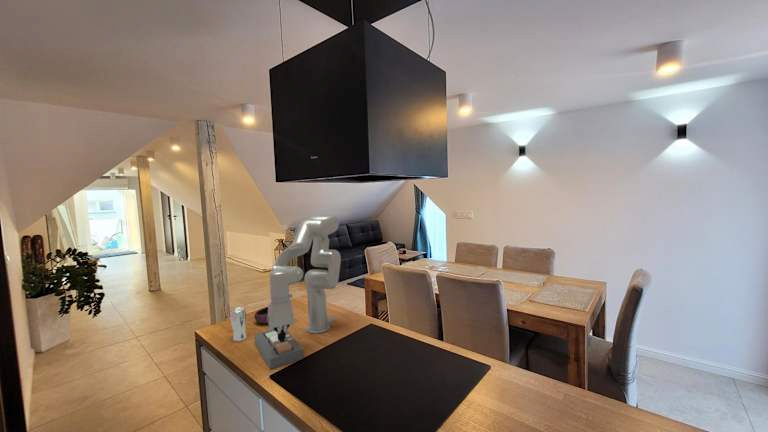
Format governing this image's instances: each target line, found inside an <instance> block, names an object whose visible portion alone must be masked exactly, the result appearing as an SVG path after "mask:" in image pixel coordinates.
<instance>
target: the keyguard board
mask: <svg viewBox="0 0 768 432" xmlns="http://www.w3.org/2000/svg"><path fill="white" fill-rule="evenodd" d="M280 329H281V330H282V326H280ZM268 332H272V331H269V330H265V331H262V332H258V333H254V334H253V335H254V344H255V345H256V347H257V349H258V350H259V352H260V354H261V356H262V357H263V359H264V361H265V363H266V365H267V367H268V368H269V370H274V369H277V368H280V367H282V366H286V365H288V364H291V363H294V362H297V361H300V360H303V359H304V348H303V347H302V346H301V345H300V343H298V341H297V340H296V338H294V337H293V335H291V333H290V332H289V331H288V330H287V331H286V338H285V342H287V341H288V342H289V344H290V345H291V346H292V351H288V352H285V353H282V354H279V355H277V353H276V352H275V346H271V345H270V340H269V338H268V339H266V337H265V333H268Z"/></svg>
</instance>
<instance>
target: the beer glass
mask: <svg viewBox="0 0 768 432" xmlns="http://www.w3.org/2000/svg"><path fill="white" fill-rule="evenodd" d="M230 323H231V328H232V331H233V338H232V339H233V341H234V342H241V341H243V340H246V339H247V337H248V336H247V333H246V325H247V312H246V308H245V307H242V306H239V307H234V308H232V309H230Z"/></svg>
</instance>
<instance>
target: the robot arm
mask: <svg viewBox="0 0 768 432" xmlns="http://www.w3.org/2000/svg"><path fill="white" fill-rule="evenodd" d="M339 225H340V221H339V218H338V217H337V216H335V215H312V216H310V217H308V218H307V219H304V220H302V221H301V222H300V223H299V226H298V229H296V230H297V231H296V233H295V236H294V238H293V239H292V240H293V241H292V242H291V244H290V245H289V246H287V247H286V248H285V249H284V250H283V251H282V252H280V253H279V254H278V256H277V257H276V259H275V261H274V263H273V265H272V268H271V271H270V274H269V288H270V289H269V290H270V292H269V293H270V294H269V295H270V302H269V303H268V306H267V307H268V323H267V324H268V328H267V329H268V330H269V331H276V332H277V333H278V340H279V341H280V342H284V341H285V338H286V331H288V329H289V328H290V327H291V326H293V325H295V322H294V310H293V304H292V302H291V298H293V294H290V285H291V286H292V285H295V284H299V282H301V281H302V279H303V278H304V284H305V289H306V293H307V294H306V295H307V312H308V324H307V326H306V327H305V331H307V333H309V334H322V333H326V332H327V331H329V330H330V329H331V326H332V325H331V323H334V322H336V321H337V319H336V317H333V318H332V316H329V317H328V311H327V310H328V309H327V295H326V291H325V290H334V289H336V288H337V286H338V284H339V278H340V271H341V270H340V269H341V261H342V260H341V258H342V257H341V253H340V252H339V251H338V250H337V249H329V246H330V239H329V235H330V234H333V233H335V232H336V231H337V230H338V228H339ZM311 245H312V249H311ZM310 249H311V255H310V264H311V266H313V267H315V268H327V269H315V268H314V269H309V270H308V271H306V273H305V275H304V271H303V269H302V268H301V267H299V266H294V265H293V266H292V265H287V264H288V263H289V262H290V261H291V260H293V259H296V258H297V257H300V256H302V255H305V254H306V253H308V252H309V250H310ZM280 327H282V330H281V329H280ZM268 330H267V331H268Z"/></svg>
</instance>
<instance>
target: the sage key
mask: <svg viewBox="0 0 768 432" xmlns="http://www.w3.org/2000/svg"><path fill="white" fill-rule="evenodd" d="M276 335H278V333H277V332H276V331H272V332H268V333H265V337H266V339H268V338H269V337H273V336H276Z"/></svg>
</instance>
